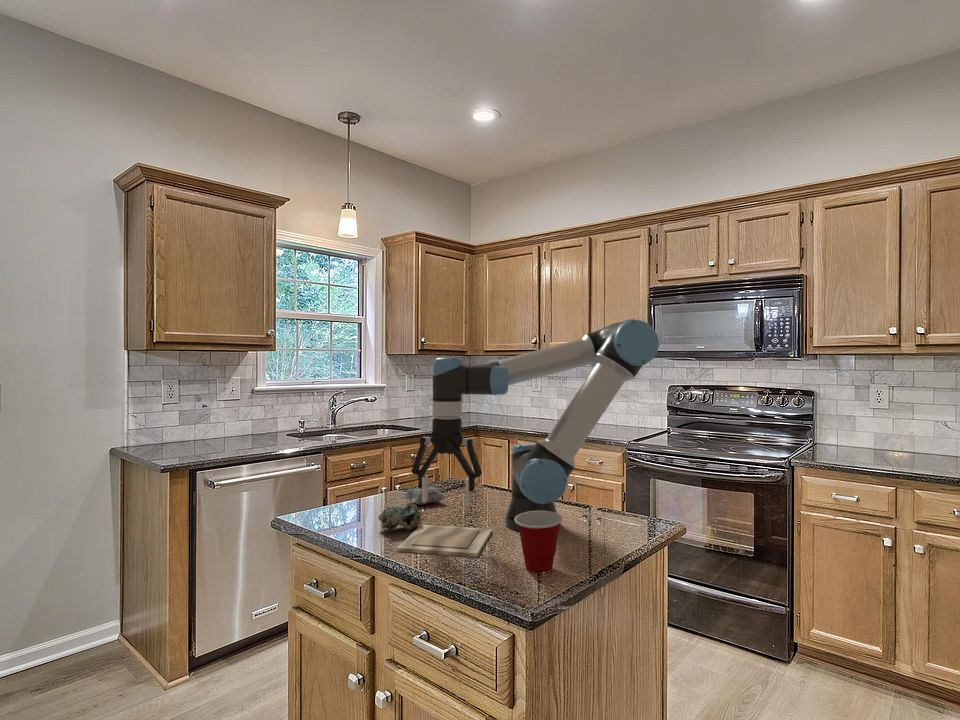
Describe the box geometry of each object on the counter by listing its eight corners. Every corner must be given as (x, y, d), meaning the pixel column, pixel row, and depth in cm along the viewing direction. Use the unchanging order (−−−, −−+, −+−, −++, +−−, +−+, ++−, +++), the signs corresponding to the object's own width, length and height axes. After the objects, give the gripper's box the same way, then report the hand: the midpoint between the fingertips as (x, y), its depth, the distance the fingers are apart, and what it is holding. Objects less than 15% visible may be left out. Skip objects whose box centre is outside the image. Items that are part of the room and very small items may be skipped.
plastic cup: (504, 569, 130) (504, 515, 130) (536, 558, 137) (536, 507, 137) (539, 583, 122) (539, 526, 122) (572, 570, 129) (572, 517, 129)
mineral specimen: (384, 532, 152) (397, 504, 153) (371, 520, 159) (383, 492, 160) (422, 542, 159) (433, 514, 159) (407, 529, 166) (418, 503, 167)
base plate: (491, 532, 157) (491, 527, 157) (477, 557, 137) (477, 552, 137) (421, 528, 161) (421, 523, 161) (397, 551, 141) (397, 546, 141)
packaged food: (447, 504, 186) (447, 488, 186) (412, 508, 180) (412, 492, 180) (437, 498, 193) (436, 483, 193) (403, 502, 188) (403, 487, 188)
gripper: (494, 417, 150) (493, 501, 150) (408, 414, 155) (407, 496, 155) (488, 420, 143) (488, 509, 143) (399, 417, 147) (398, 503, 147)
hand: (446, 502), depth 149 cm, fingers open, 11 cm apart
